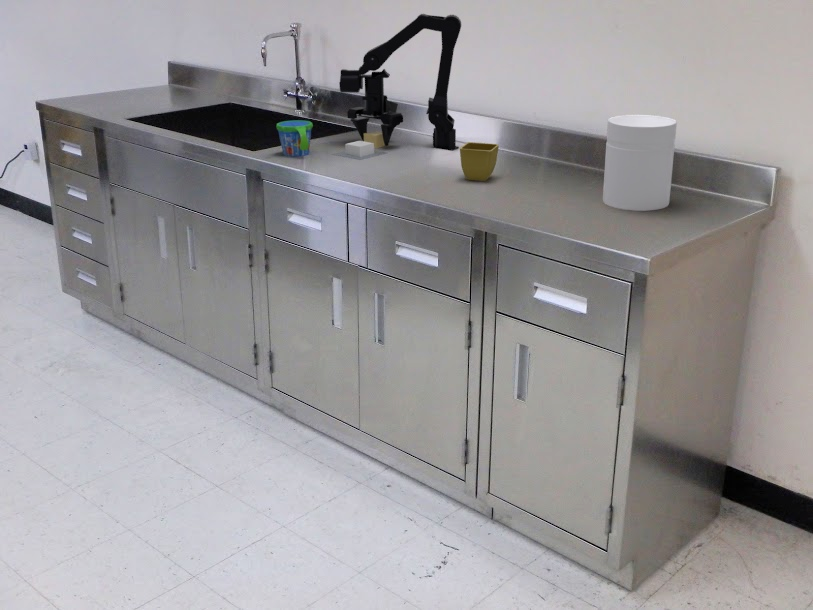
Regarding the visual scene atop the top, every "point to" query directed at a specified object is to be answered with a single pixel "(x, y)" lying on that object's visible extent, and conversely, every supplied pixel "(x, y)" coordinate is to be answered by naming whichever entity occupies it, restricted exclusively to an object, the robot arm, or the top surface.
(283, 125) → the snack cup
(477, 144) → the flower pot
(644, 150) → the canister
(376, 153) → the baseplate
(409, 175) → the top surface
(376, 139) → the ochre brick
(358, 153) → the white brick
